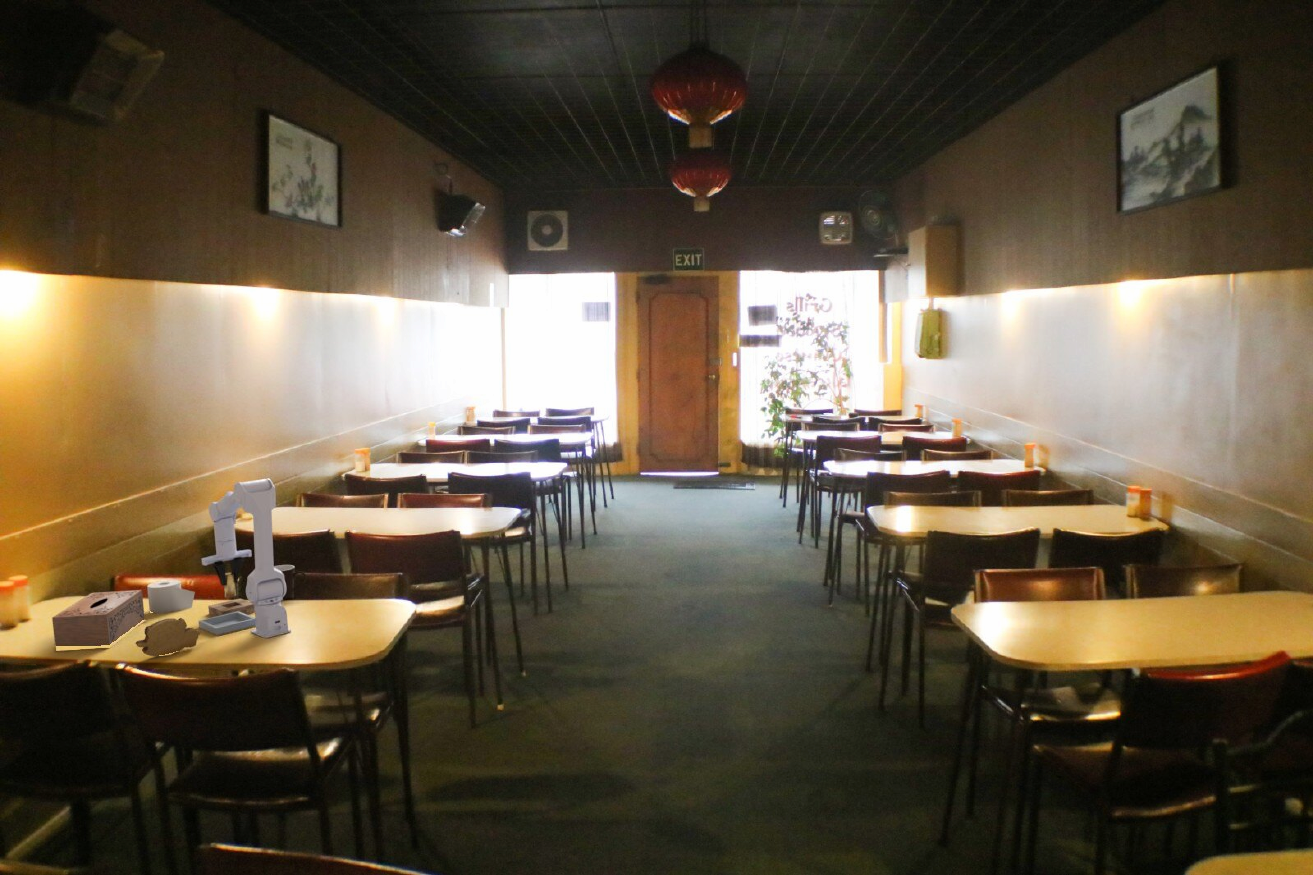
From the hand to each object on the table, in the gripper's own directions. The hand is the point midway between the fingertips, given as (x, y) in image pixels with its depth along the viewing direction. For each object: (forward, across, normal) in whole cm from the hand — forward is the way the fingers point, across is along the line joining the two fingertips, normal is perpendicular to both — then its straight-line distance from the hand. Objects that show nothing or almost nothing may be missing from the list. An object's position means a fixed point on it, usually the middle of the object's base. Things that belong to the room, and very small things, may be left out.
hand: (229, 583), depth 321 cm
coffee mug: (+10, -19, -4) cm, 22 cm away
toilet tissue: (+10, +10, -22) cm, 26 cm away
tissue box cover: (+10, +34, -11) cm, 37 cm away
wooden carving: (+10, +28, +23) cm, 38 cm away
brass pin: (+4, 0, 0) cm, 4 cm away
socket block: (+10, 0, -1) cm, 10 cm away
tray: (+10, +7, +12) cm, 17 cm away
